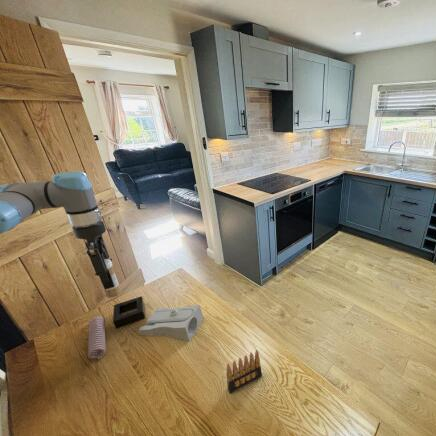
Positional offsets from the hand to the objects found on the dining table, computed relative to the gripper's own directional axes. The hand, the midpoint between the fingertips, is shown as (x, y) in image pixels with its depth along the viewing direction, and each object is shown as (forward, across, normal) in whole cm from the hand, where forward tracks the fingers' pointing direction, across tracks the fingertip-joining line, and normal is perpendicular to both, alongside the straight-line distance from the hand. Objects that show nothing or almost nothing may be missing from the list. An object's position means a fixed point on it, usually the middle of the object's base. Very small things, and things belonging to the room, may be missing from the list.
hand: (110, 283), depth 82 cm
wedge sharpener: (+23, -7, -15) cm, 28 cm away
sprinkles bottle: (+5, 0, 0) cm, 5 cm away
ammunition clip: (+23, -42, -32) cm, 57 cm away
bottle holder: (+23, +8, -1) cm, 24 cm away
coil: (+23, 0, +9) cm, 25 cm away
